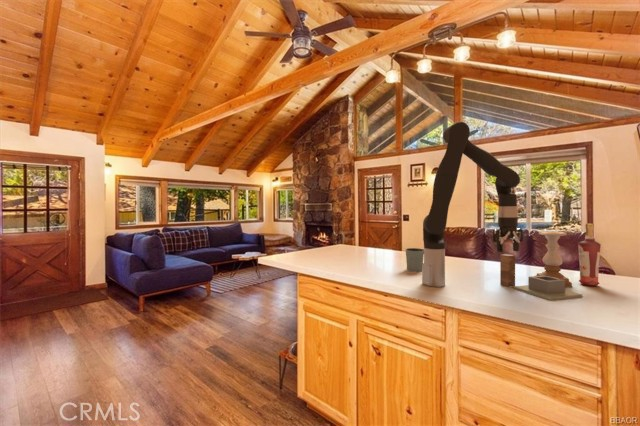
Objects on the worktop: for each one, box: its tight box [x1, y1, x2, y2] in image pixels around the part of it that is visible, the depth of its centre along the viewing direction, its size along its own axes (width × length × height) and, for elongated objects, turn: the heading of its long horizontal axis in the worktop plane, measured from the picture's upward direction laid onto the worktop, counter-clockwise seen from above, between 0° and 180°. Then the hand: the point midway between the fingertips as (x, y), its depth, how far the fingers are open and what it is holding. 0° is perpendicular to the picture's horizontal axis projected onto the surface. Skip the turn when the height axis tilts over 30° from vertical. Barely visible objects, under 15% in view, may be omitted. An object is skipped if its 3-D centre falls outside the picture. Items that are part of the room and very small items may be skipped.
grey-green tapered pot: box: [405, 247, 424, 273], centre depth 164 cm, size 10×10×12 cm
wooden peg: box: [499, 253, 516, 288], centre depth 131 cm, size 4×4×14 cm
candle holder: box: [535, 230, 573, 288], centre depth 133 cm, size 11×11×24 cm
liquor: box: [578, 223, 602, 287], centre depth 129 cm, size 7×7×28 cm
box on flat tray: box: [513, 275, 583, 301], centre depth 119 cm, size 16×16×6 cm
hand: (508, 251), depth 130 cm, fingers open, 8 cm apart
